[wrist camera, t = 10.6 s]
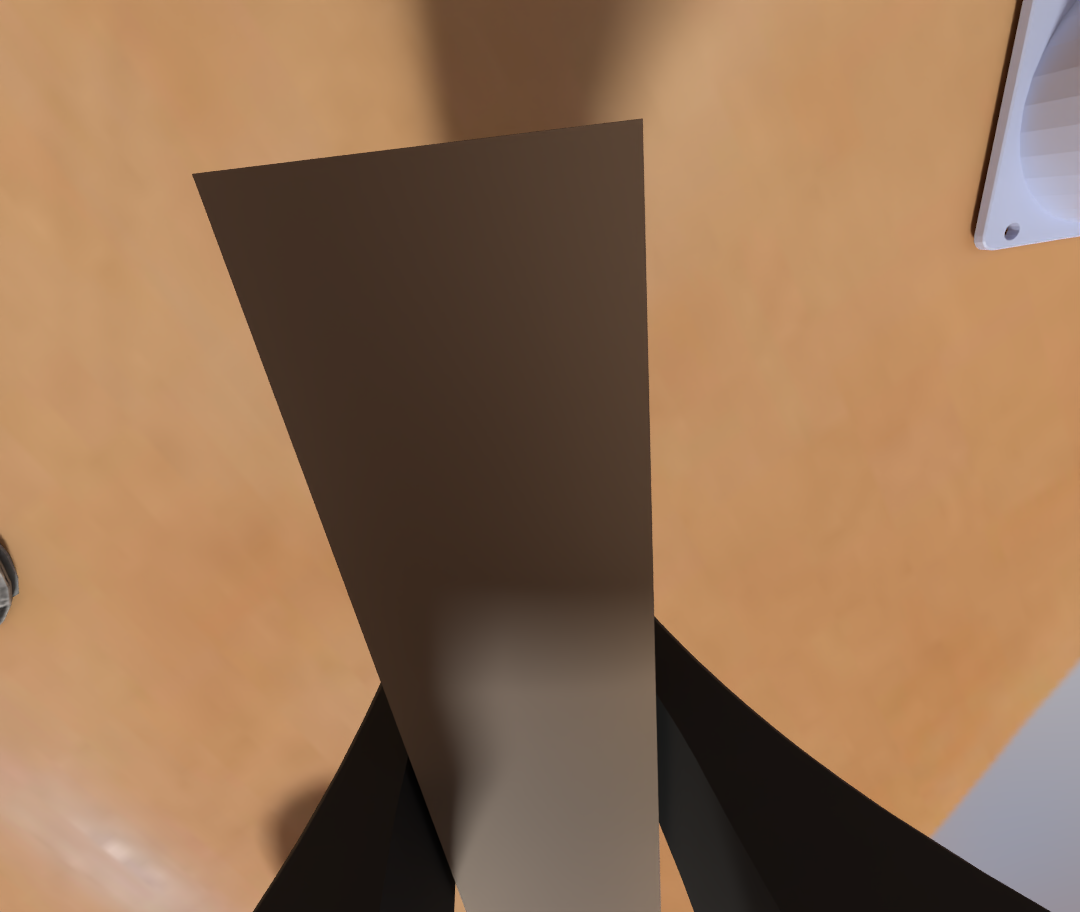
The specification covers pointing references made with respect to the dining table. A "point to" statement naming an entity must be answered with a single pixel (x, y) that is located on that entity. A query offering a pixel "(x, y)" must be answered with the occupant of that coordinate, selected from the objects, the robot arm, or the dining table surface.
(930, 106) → the dining table surface
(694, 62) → the dining table surface
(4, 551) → the knife
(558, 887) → the dark wooden brick
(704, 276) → the dining table surface
